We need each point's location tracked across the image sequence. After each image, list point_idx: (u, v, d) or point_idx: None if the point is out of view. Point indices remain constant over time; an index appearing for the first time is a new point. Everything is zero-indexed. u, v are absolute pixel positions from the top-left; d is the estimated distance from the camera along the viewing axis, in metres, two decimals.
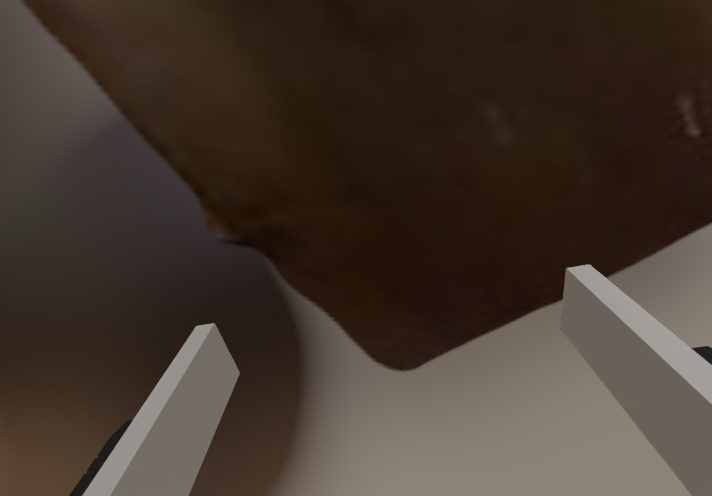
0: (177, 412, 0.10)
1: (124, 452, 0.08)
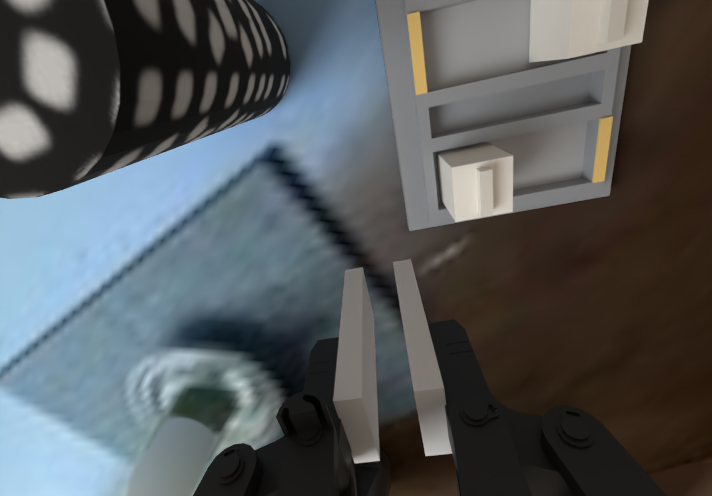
0: (365, 331, 0.11)
1: (350, 352, 0.10)
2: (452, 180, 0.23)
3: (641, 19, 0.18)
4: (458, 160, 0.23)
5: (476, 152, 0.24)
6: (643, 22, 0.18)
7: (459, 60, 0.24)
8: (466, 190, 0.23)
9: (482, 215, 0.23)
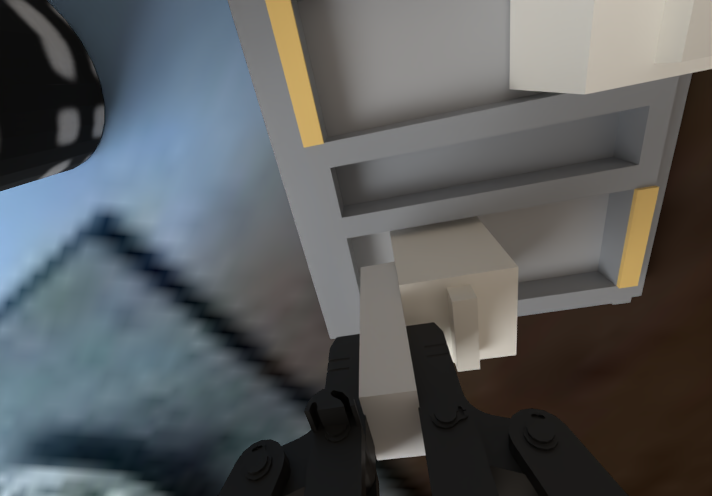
0: None
1: (372, 349, 0.10)
2: (402, 305, 0.12)
3: None
4: (416, 261, 0.13)
5: (451, 240, 0.14)
6: None
7: (385, 84, 0.13)
8: (428, 321, 0.12)
9: (459, 369, 0.12)
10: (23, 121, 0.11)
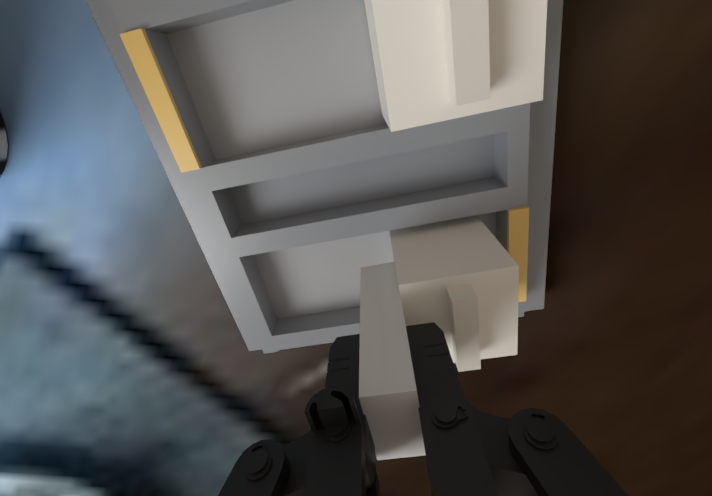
0: None
1: (372, 349, 0.10)
2: (402, 304, 0.12)
3: (536, 52, 0.08)
4: (416, 260, 0.13)
5: (451, 239, 0.13)
6: (542, 59, 0.08)
7: (262, 110, 0.14)
8: (429, 321, 0.12)
9: (460, 369, 0.12)
10: None
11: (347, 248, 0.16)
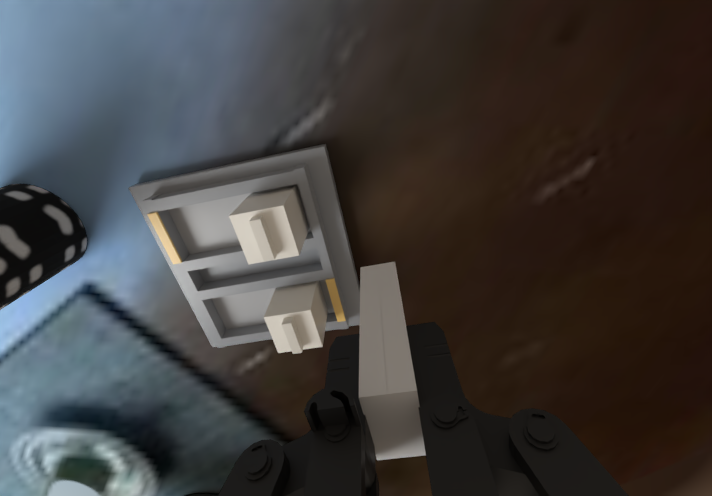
0: None
1: (372, 349, 0.10)
2: (267, 325, 0.28)
3: (292, 242, 0.24)
4: (277, 305, 0.28)
5: (297, 294, 0.29)
6: (295, 244, 0.24)
7: (210, 234, 0.30)
8: (280, 332, 0.28)
9: (293, 352, 0.28)
10: (51, 260, 0.28)
11: (258, 293, 0.32)
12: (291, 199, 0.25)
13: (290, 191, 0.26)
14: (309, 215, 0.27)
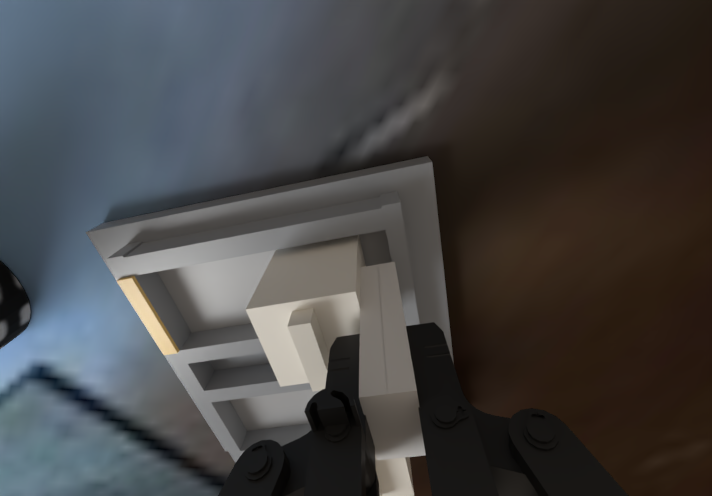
0: None
1: (372, 349, 0.10)
2: None
3: None
4: None
5: None
6: None
7: (225, 304, 0.18)
8: None
9: None
10: None
11: None
12: (358, 264, 0.14)
13: (354, 249, 0.14)
14: (399, 281, 0.15)
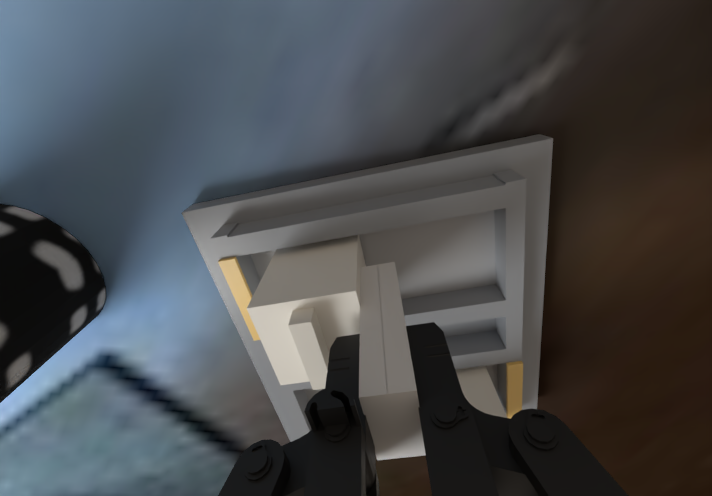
0: None
1: (372, 349, 0.10)
2: None
3: None
4: None
5: (463, 390, 0.17)
6: None
7: None
8: None
9: None
10: (47, 339, 0.16)
11: None
12: (359, 264, 0.14)
13: (354, 249, 0.14)
14: (510, 263, 0.15)
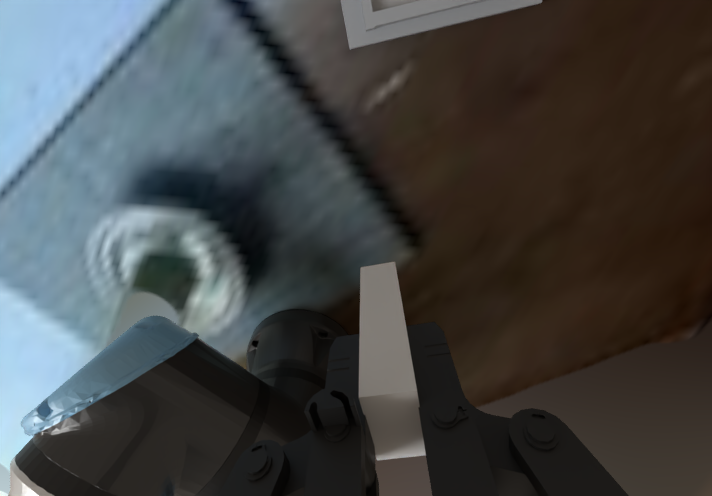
0: None
1: (372, 349, 0.10)
2: None
3: None
4: None
5: None
6: None
7: None
8: None
9: None
10: None
11: None
12: None
13: None
14: None
